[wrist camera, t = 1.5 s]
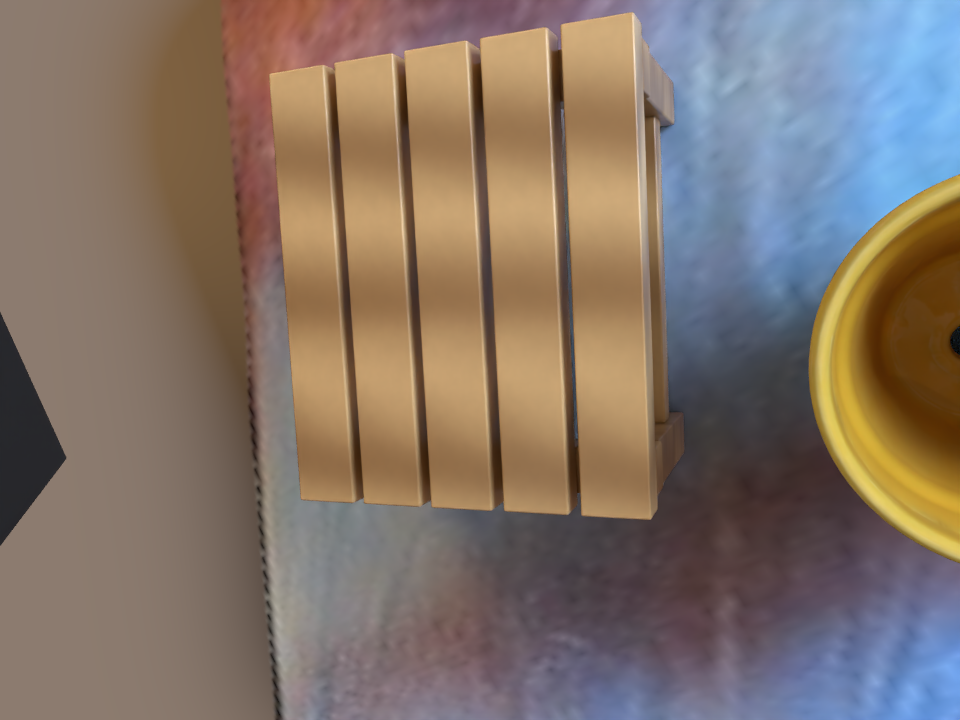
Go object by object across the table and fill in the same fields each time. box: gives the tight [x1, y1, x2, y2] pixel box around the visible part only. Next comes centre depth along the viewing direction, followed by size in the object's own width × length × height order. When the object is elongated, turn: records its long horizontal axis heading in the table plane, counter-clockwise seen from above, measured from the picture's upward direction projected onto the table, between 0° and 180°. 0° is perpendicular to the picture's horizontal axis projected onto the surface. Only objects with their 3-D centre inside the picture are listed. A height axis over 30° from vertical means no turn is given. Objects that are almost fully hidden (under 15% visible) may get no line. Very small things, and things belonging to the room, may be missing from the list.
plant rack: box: [269, 12, 685, 520], centre depth 31 cm, size 15×13×8 cm
